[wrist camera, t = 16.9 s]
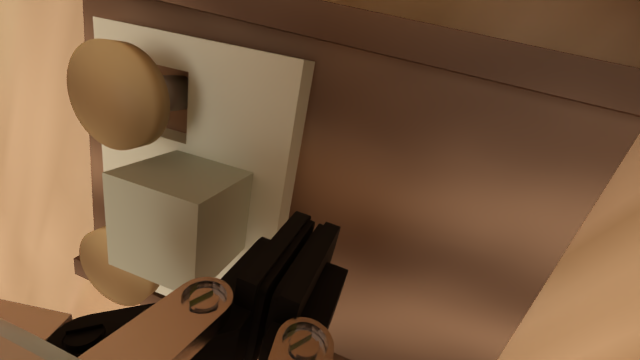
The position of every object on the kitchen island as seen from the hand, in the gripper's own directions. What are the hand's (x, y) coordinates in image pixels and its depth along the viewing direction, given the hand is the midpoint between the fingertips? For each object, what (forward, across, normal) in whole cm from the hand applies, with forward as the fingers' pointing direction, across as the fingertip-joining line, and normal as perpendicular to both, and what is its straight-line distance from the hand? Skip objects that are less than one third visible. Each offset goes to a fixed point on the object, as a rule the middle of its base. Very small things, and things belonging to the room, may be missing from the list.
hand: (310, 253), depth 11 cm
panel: (+4, +7, +1) cm, 8 cm away
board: (+5, +3, +1) cm, 6 cm away
